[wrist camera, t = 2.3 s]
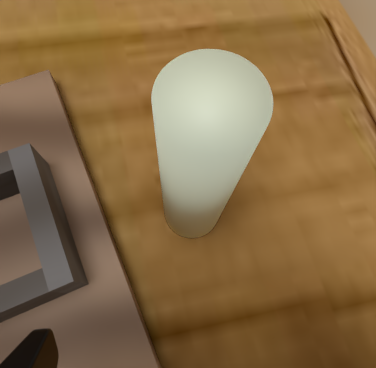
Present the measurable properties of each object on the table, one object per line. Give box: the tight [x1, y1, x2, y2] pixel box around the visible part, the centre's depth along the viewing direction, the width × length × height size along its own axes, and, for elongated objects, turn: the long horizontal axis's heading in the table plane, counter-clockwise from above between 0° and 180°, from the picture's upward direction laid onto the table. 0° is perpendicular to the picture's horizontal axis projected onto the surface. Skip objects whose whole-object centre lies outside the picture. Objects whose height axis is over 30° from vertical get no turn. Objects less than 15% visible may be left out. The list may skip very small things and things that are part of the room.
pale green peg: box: [151, 49, 273, 238], centre depth 16 cm, size 4×4×13 cm
